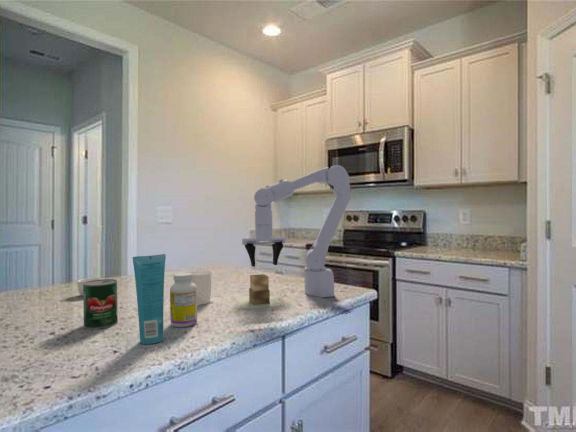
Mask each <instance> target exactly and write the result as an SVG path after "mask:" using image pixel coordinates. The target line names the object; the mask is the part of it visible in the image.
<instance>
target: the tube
mask: <svg viewBox="0 0 576 432" xmlns="http://www.w3.org/2000/svg"><path fill="white" fill-rule="evenodd" d="M166 256H167V255H166V254H165V253H163V254H161V253H160V254H153V255H138V256H132V263H133V271H134V280H135V293H136V301H137V313H138V314H137V315H138V328H139V342H140V344H143V345H151V344H152V345H153V344H157V343H159V342H160V343H161V342H162V341H163V340H164V305H165V304H164V302H165V301H164V297H165V295H164V294H165V292H164V291H165V273H166V272H165V270H166V269H165V268H166Z"/></svg>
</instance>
